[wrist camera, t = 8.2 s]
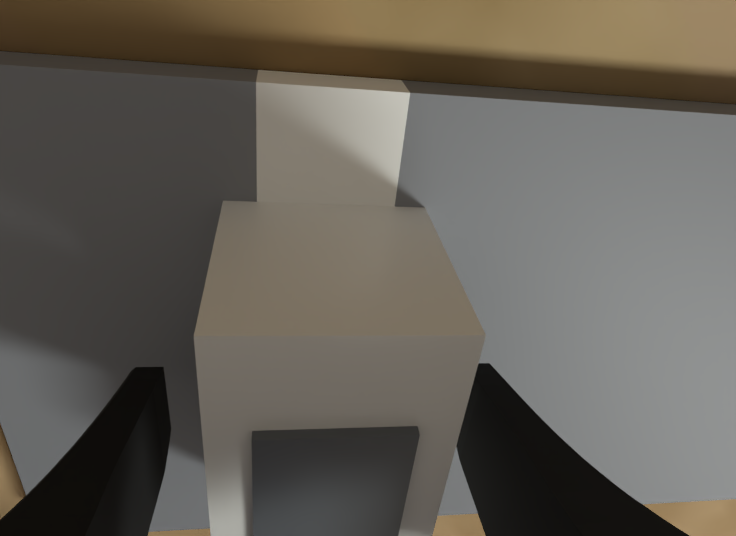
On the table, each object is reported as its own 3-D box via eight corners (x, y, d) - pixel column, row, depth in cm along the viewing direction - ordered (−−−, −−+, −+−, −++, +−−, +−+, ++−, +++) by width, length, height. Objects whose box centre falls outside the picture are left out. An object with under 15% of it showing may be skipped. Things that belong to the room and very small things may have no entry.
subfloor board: (765, 473, 22) (784, 496, 21) (53, 508, 18) (41, 537, 17) (1020, 124, 14) (1064, 138, 14) (-98, 43, 10) (-132, 55, 9)
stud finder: (380, 470, 17) (409, 635, 13) (234, 475, 16) (219, 652, 13) (424, 207, 12) (489, 343, 8) (223, 200, 12) (191, 345, 8)
